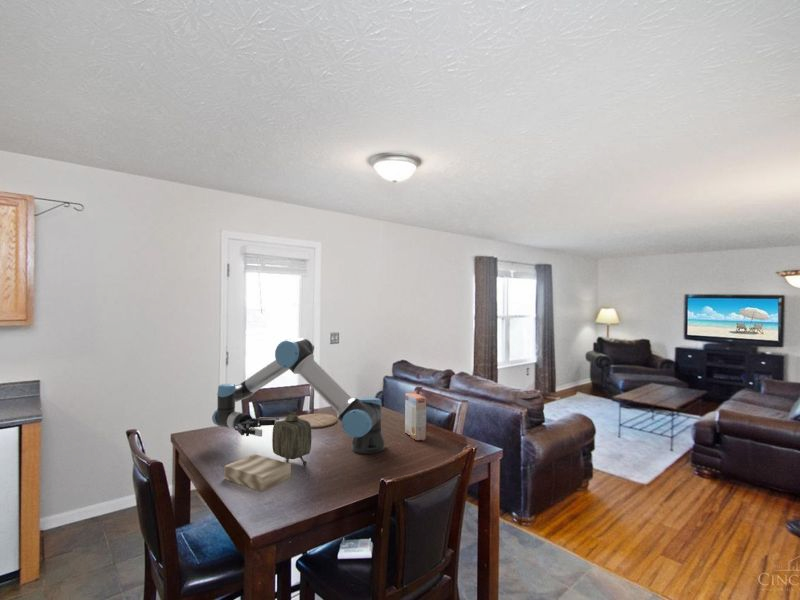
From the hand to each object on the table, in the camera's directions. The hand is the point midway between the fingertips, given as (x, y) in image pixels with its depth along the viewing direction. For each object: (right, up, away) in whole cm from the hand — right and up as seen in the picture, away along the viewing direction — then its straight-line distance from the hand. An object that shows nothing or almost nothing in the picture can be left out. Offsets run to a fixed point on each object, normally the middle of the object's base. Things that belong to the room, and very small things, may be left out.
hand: (274, 428), depth 169 cm
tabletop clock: (+8, -13, -5) cm, 16 cm away
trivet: (+5, -15, +56) cm, 59 cm away
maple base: (0, -13, -18) cm, 22 cm away
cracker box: (+61, -15, +32) cm, 70 cm away
